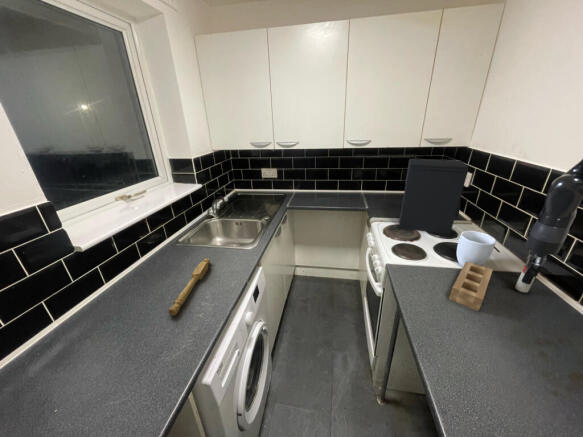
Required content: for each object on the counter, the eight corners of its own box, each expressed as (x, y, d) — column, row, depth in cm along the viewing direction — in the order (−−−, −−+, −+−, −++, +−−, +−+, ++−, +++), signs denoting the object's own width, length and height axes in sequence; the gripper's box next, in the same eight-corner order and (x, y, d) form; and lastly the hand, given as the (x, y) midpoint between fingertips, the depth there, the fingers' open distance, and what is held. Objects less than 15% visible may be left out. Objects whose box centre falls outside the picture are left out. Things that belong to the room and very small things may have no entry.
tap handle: (166, 309, 75) (203, 257, 102) (168, 316, 76) (205, 262, 103) (175, 309, 74) (210, 257, 102) (177, 316, 76) (211, 262, 103)
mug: (464, 251, 104) (473, 225, 98) (494, 263, 95) (505, 235, 90) (447, 262, 96) (455, 235, 91) (477, 276, 88) (488, 247, 83)
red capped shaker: (528, 288, 81) (538, 268, 77) (527, 294, 79) (538, 272, 75) (515, 284, 83) (524, 264, 79) (514, 289, 81) (524, 268, 77)
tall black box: (452, 221, 132) (470, 159, 118) (459, 236, 116) (480, 167, 102) (399, 214, 143) (409, 157, 129) (399, 228, 127) (410, 164, 112)
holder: (488, 280, 86) (492, 269, 84) (478, 311, 73) (483, 299, 71) (462, 271, 91) (466, 261, 89) (448, 298, 78) (452, 287, 76)
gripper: (565, 249, 65) (541, 295, 72) (563, 232, 74) (541, 274, 81) (529, 240, 70) (509, 285, 77) (531, 225, 79) (513, 266, 86)
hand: (526, 279), depth 79 cm, fingers closed on red capped shaker, 3 cm apart
